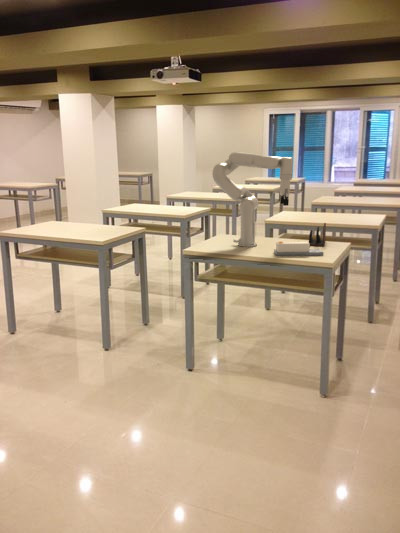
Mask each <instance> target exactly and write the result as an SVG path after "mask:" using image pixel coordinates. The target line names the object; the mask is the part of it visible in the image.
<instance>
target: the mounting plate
mask: <svg viewBox="0 0 400 533" xmlns="http://www.w3.org/2000/svg"><path fill="white" fill-rule="evenodd" d="M273 253H274V255H275V256H276V257H296V256H298V257H299V256H300V257H301V256H302V257H303V256H305V257H309V256H314V257H315V256H316V257H317V256H324V253H325V252H324V251H322V250H321V249H319V248H310V249H309V252H277V251H276V248H275V249H273Z"/></svg>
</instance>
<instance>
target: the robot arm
mask: <svg viewBox="0 0 400 533" xmlns="http://www.w3.org/2000/svg"><path fill="white" fill-rule="evenodd" d="M293 162H294V159H293V157H291V156H289V157H288V156H283V157H282V156H267V155H260V154H256V153H250V152H240V151H233V152H231V153H230V154H229V156H228V158H227V160H225V161H224V162H218V163H216V164H215V165H214V166H213V169H212V174H211V175H212V178H213V181H214V183H215V184H216V185H217V187H219V189H221V190H222V191H223V192H224V193H225V194H226V195H227V196H228V197H229V198H230V199H231V200H233V201H235V202H237V201H238V202H240V203H239V212H240V237H239V238H238V239H235V238H234V239H233V243H237V245H238V246H239V247H244V248H251V247H257V246H258V243H257V242H255V240H256V211H255V210H257V209H258V208H259V204H260V202H259V200H258V198H257V197H256V196H255V195H254V194H252V192H251V191H249V190H248V188H246V187H245V186H243V185H237V184H236V183H235V182H234V181H233V180H232V179H230V178H229V177H228V175H230V174H232V173H233V172H234V171H235V170H237V169H238V168H239V167H247V168H257V169H258V168H260V169H268V170H275V169H279V180H280V183H279V195H280V204H281V205H283V206H289V203H290V202H289V201H290V200H289V198H290V197H289V196H290V192H291V186H290V185H291V181H292V180H293V164H294V163H293Z"/></svg>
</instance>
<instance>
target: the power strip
mask: <svg viewBox="0 0 400 533" xmlns="http://www.w3.org/2000/svg"><path fill="white" fill-rule="evenodd" d="M275 245H276V246H275V249H276V251H277V252H309V249H311V248H310V247H311V246H310V243H309V241H277V242H275Z"/></svg>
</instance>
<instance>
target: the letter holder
mask: <svg viewBox="0 0 400 533" xmlns="http://www.w3.org/2000/svg"><path fill="white" fill-rule="evenodd" d="M326 224H327V223H326V222H324V223H323V228H322V238H321V237H320V234H319V233H320V226H317V227H316V232H315V235H316V236H315V239H313V229H311V230H310V232H309V235H308V236H309V237H308V243H310V247H324V246H325V243H326V235H327V233H326V231H327V230H326V226H327V225H326Z"/></svg>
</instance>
